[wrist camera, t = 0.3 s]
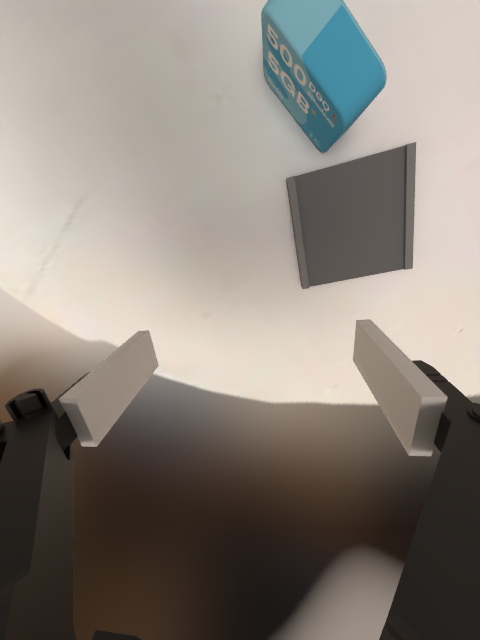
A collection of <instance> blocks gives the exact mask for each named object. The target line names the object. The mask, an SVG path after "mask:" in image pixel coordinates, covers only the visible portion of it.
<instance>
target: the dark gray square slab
mask: <svg viewBox="0 0 480 640" xmlns="http://www.w3.org/2000/svg"><path fill="white" fill-rule="evenodd" d="M415 163H416V142H415V143H411V144H408V145H406V146H403V147H399V148H396V149H392V150H388V151H385V152H381V153H378V154H374V155H371V156H367V157H364V158H360V159H356V160H353V161H349V162H346V163H342V164H339V165H335V166H331V167H328V168H324V169H321V170H317V171H314V172H310V173H306V174H303V175H299V176H296V177H295V176H294V177H290V178H287V180H286V181H287V188H288V195H289V202H290V209H291V216H292V223H293V230H294V237H295V244H296V251H297V258H298V265H299V272H300V279H301V286H302V288H303V289H306V288H309V287H311V286H316V285H321V284H326V283H332V282H337V281H342V280H347V279H353V278H358V277H363V276H369V275H374V274H379V273H384V272H390V271H395V270H400V269H405V270H406V269H411V268H413V234H414V198H415Z"/></svg>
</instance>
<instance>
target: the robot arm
mask: <svg viewBox="0 0 480 640" xmlns="http://www.w3.org/2000/svg"><path fill="white" fill-rule="evenodd" d="M353 361H354V363H355V365H356V366H357V368H358V370H359V371H360V373H361V375H362V376H363V378H364V380H365V382H366V383H367V385H368V387H369V388H370V390H371V392H372V394H373V395H374V397H375V399H376V400H377V402H378V404H379V405H380V407H381V409H382V411H383V412H384V414H385V415H386V417H387V419H388V421H389V423H390V424H391V426H392V427H393V429H394V431H395V433H396V434H397V436H398V438H399V439H400V441H401V443H402V445H403V446H404V448H405V450H406V451H407V453H408V455H410V456H431V455H432V451H433V447H434V444H435V445H436V447H437V448H438V450H439V451H440V452H441V455H440V458H439V461H438V465H437V467H436V471H435V474H434V477H433V480H432V483H431V486H430V489H429V492H428V495H427V498H426V501H425V504H424V507H423V510H422V513H421V516H420V519H419V523H418V525H417V529H416V532H415V535H414V538H413V541H412V544H411V547H410V550H409V553H408V556H407V559H406V562H405V565H404V568H403V571H402V574H401V577H400V581H399V584H398V587H397V590H396V593H395V596H394V599H393V602H392V605H391V608H390V611H389V614H388V617H387V620H386V623H385V625H384V628H383V631H382V634H381V636H380V639H379V640H480V404H477V403H472V402H471V401H470V400H469V399H468V398H467V397H465V396H464V395H463V394H462V393H461V392H460V391H459V390H458V389H457V388H456V387H454V386H453V385H452V384H451V383H450V382H448V380H447V379H446V378H445V377H443V376H441V374H440V373H439V372H438V371H437V370H436V369H435V368H434V367H432V366H430V365H428V364H427V363H425V362H423V361H421V360H420V361H411V360H410V359H409V358H408V357H407V356H406V355H405V354H404V353H403V352H402V351H401V350H400V349H399V348H398V347H397V346H396V345H395V344H394V343H393V342H392V341H391V340H390V339H389V338H388V337H387V336H386V335H385V334H384V333H383V332H382V331H381V330H380V329H379V328H378V327H377V326H376V325H375V324H374V323H373V322H372V321H371V320H356V331H355V343H354V355H353ZM158 366H159V365H158V361H157V358H156V354H155V351H154V347H153V343H152V340H151V336H150V332H149V331H138V332H137V333H136V334H134V335H133V336H132V337H131V338H130V339H128V340H127V341H126V342H125V343H124V344H123V345H121V346H120V347H119V348H118V349H117V350H116V351H114V352H113V353H112V354H111V355H110V356H109V357H107V358H106V359H105V360H104V361H103V362H101V363H100V364H99V365H98V366H97V367H96V368H95V369H93V370H92V371H91V372H89V373H87V374H86V375H84V376H83V377H82V378H80V379H79V380H78V381H77V382H76V383H74V384H73V385H72V386H71V387H70V388H69V389H67V390H66V391H65V392H64V393H63V394H61V395H60V396H59V397H58V398H57V399H55V400H54V401H53V402H52V403H50V401H49V399H48V397H47V395H46V393H45V391H44V390H43V389H33V390H29V391H26V392H24V393H22V394H19V395H18V396H16V397H14V398H13V399H11V400H10V401H9V402H7V404H6V405H5V407H6V409H7V411H8V412H9V414H10V415H11V417H12V419H13V420H14V421H11V422H6V423H2V422H1V420H0V640H77V639H76V635H75V630H74V620H73V619H74V615H73V614H74V610H73V609H74V448H73V446H72V444H71V443H72V442H73V441H74V440H75V438H76V437H78V439H79V441H80V443H81V445H82V446H94V447H96V446H98V444H99V443H100V442H101V440H102V439H103V438H104V436H105V435H106V433H107V432H108V431H109V430H110V429H111V427H112V426H113V425H114V423H115V422H116V421H117V419H118V418H119V417H120V415H121V414H122V413H123V411H124V410H125V409H126V408H127V406H128V405H129V404H130V402H131V401H132V400H133V398H134V397H135V396H136V394H137V393H138V392H139V390H140V389H141V388H142V387H143V385H144V384H145V383H146V381H147V380H148V379H149V377H150V376H151V375H152V373H153V372H154V371H155V369H156V368H157V367H158ZM92 640H141V639H139V638H138V637H136V636H131V635H124V634H117V633H112V632H105V631H98V630H96V631H95V634H94V636H93V638H92Z"/></svg>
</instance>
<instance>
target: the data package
mask: <svg viewBox="0 0 480 640" xmlns="http://www.w3.org/2000/svg"><path fill="white" fill-rule="evenodd" d="M261 20H262V42H263V65H264V75H265V78H266V80H267V82H268V84H269V86H270V87H271V89H272V90H273V91H274V93H275V94H276V95H277V97H278V98H279V99H280V101H281V102H282V103H283V104H284V106H285V107H286V108H287V110H288V111H289V112H290V114H291V115H292V116H293V117H294V119H295V120H296V121H297V123H298V124H299V125H300V127H301V128H302V129H303V131H304V132H305V133H306V134H307V136H308V137H309V138H310V140H311V141H312V142H313V144H314V145H315V146H316V147H317V148H318V149H319V150H320V151H321V152H326V151H327V150H328V149H329V148H330V147H331V146H332V145H333V144H334V143H335V142H336V141H337V140H338V139H339V138H340V137H341V136H342V135H343V133H344V132H345V131H346V130H347V129H348V128H349V127H350V126H351V125H352V124H353V123H354V122H355V121H356V119H357V118H358V117H359V116H360V115H361V114H362V112H363V111H364V110H365V109H366V108H367V107H368V105H369V104H370V103H371V102H372V101H373V100H374V98H375V97H376V96H377V95H378V94H379V93H380V92H381V90H382V89H383V88H384V86H385V84H386V70H385V66H384V64H383V62H382V60H381V59H380V57H379V56H378V54H377V52H376V51H375V49H374V48H373V46H372V45H371V43H370V42H369V40H368V38H367V37H366V35H365V34H364V32H363V31H362V29H361V28H360V26H359V25H358V23H357V21H356V20H355V18H354V17H353V15H352V14H351V12H350V11H349V9H348V7H347V6H346V4H345V3H344V1H343V0H268V2H267V3H266V5H265V6H264V8H263V9H262V13H261Z"/></svg>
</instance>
